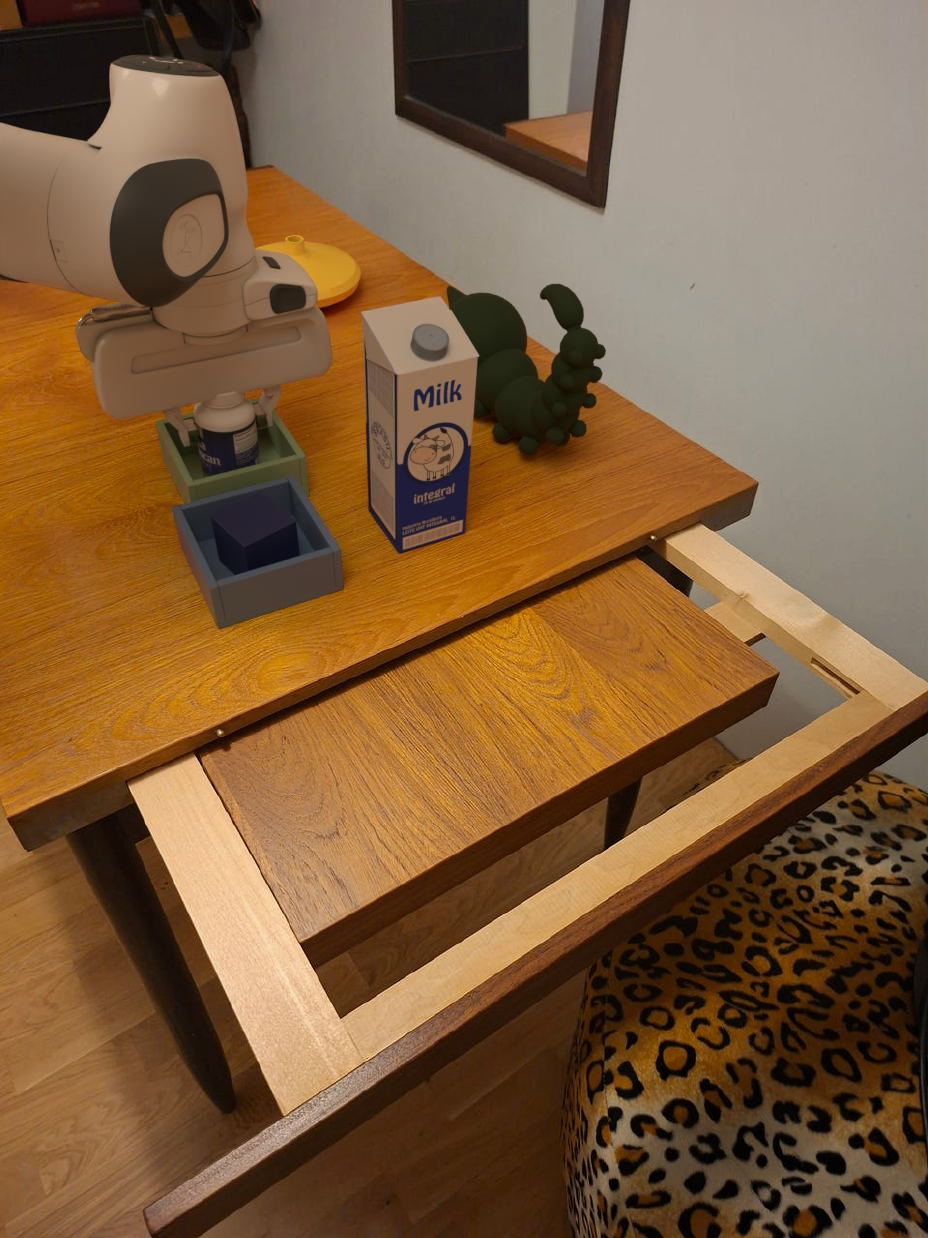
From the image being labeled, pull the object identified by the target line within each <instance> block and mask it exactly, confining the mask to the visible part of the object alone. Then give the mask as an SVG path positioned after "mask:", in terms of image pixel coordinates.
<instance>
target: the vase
mask: <svg viewBox="0 0 928 1238" xmlns="http://www.w3.org/2000/svg"><path fill="white" fill-rule="evenodd" d="M284 240H285V241H277V242H274V243H268V244H263V245H261V246H258V247H255V249H260V250H266V251H272V252H278V253H284V254H287V255H289V256H290V257H291V258H293V259H294V260H295V261H296V262H297V263H298V264H299V265H300V266H301V267H302V268H303V269H304V270H305V271H306V272H307V273H308V275H309V276H310V277H311V279H312V280H313V282H314V284H315V286H316V288H317V292H318V300H317V303H316V305H317V306H318V308H319V309H322V308H326V307H329V306H332V305H334V304H337V303H339V302H342V301H345V300H346V299H347V298H348V297H350V296H351V295H353V294H354V293H355V291H356V290H357V288H359V287H358V286H359V283H360V280H361V276H362V275H361V273H362V270H361V268H360V265H359V264H358V262H357V261H356V260H355V259H354V258H353V257H352V256H351V255H350V254H349V253H348V252H346V251H344V250H343V249H341V248H338V247H337V246H333V245H329V244H326V243H322V242H315V241H309V240H308V241H306V240H305V239H304V237H303V236H301V235H297V234H292V235H291V234H290V235H287V236H286V237H285V239H284Z"/></svg>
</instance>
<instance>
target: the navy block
mask: <svg viewBox="0 0 928 1238" xmlns="http://www.w3.org/2000/svg"><path fill="white" fill-rule="evenodd" d="M210 517H211V522H212V527H213V532H214V536H215V541H216V546H217V551H218V556H219V561H220V562H222V563H223V564H224V565H225V566H226V567H227V568H228V569H229V570H230V571H231V572H232V573H233V574H234V575H238V574H241V573H244V572H248V571H251V570H254V569H258V568H261V567H264V566H268V565H271V564H274V563H278V562H281V561H284V560H288V559H291V558H295V557H298V556H300V552H299V543H298V534H297V525H296V521H295V520H294V519H293V518H292V517H291V516H289V515H288V514H287V513H286V512H285V511H283V510H282V509H281V508H280V507H279V506H277V505H276V504H275V503H274V502H273V501H272V500H270V499H269V498H268V497H267V496H266V495H264V494H263V493H262V492H260V493H258V494H256V495H254V496H252V497H250V498H247V499H245V500H243V501H241V502H239V503H237V504H235V505H232V506H230V507H228V508H226V509H224V510H222V511H220V512H217V513H215V514H213V515H211V516H210Z"/></svg>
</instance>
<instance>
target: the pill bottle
mask: <svg viewBox="0 0 928 1238" xmlns="http://www.w3.org/2000/svg"><path fill="white" fill-rule="evenodd" d="M249 400H250V399H249V398H247V397H246V393H242V394H238V393H237V392H229V393H224V394H219V395H217V396H216V398H215V399H214V400H210V401H205V402H201V403H196V404H194V408H193V413H194V422H195V425H196V426H197V428H198V430H199V438H200V441H201V443H200V444H198V447H199V452H200V459H201V465H202V471H203V475H204V477H209V476H213V475H217V474H221V473H225V472H229V471H233V470H237V469H241V468H245V467H249V466H253V465H257V464H260V455H259V446H258V436H257V427H256V417H255V410H254V406H253V404H252V403H251V402H250V401H249Z"/></svg>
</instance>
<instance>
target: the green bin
mask: <svg viewBox="0 0 928 1238" xmlns="http://www.w3.org/2000/svg"><path fill="white" fill-rule="evenodd" d="M248 400H249V401H250V402H251V403H252V404H253V405H254V404H258V403H259V400H260V397H257V398H252V399H248ZM180 417H181V418H182V419H183V420H188V419H193V420H194V412H190V413H186V414H182V415H181V416H180ZM272 420H273V426H272V427H267V428H263V429H259V430H257V436H258V446H259V455H260V464H257V465H253V466H249V467H245V468H241V469H237V470H233V471H229V472H225V473H221V474H217V475H213V476H209V477H204V475H203V471H202V465H201V459H200V452H199V447H198V444H196V445H192V446H187V447H184V445H183V443H182V441H181V439H180V436H179V431H178V430H177V429H176V428H175V427H174V426H173V425H172V424H171V423H170V422H169V421H168V420H166V418H163V419H159V420H156V421H154V424H155V429H156V433H157V438H158V441H159V446H160V450H161V454H162V459H163V462H164V465H165V466H166V468H167V470H168V473H169V474H170V476H171V479H172V480H173V483H174V484H175V487H176V489H177V490H178V492H179V495H180V497H181V499H182V501H183V504H185V503H189V502H193V501H197V500H200V499H204V498H208V497H212V496H216V495H220V494H223V493H227V492H231V491H235V490H239V489H242V488H246V487H250V486H254V485H258V484H262V483H265V482H269V481H273V480H277V479H281V478H284V477H286V478H287V477H288V476H292V475H294V477H295V478H296V480H297V481H298V483H299V484H300V486H301V488H302V489H303V491H304V492H305V494H306V495H307V497H308V498H309V497H310V495H311V494H310V485H309V484H310V483H309V473H308V462H307V456H306V454H305V453H304V451H303V450H302V448H301V446H300V445H299V444H298V443H297V441H296V439H295V437H294V436H293V435H292V433H291V432H290V430H289V429H288V427H287V426H286V424H285V423H284V421H283V420H282V419H281V416H280V415H279V414H278V412H277V411H276V409H275V408H274V410H273V411H272Z"/></svg>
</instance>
